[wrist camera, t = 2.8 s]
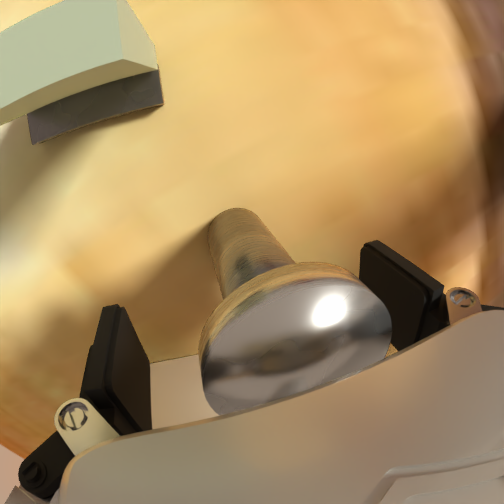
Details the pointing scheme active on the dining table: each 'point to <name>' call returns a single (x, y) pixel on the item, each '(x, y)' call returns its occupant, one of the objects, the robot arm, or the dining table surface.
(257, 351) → the silver knob
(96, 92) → the hinge foot
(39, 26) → the plate
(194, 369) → the hitch block
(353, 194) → the dining table surface
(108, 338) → the robot arm
